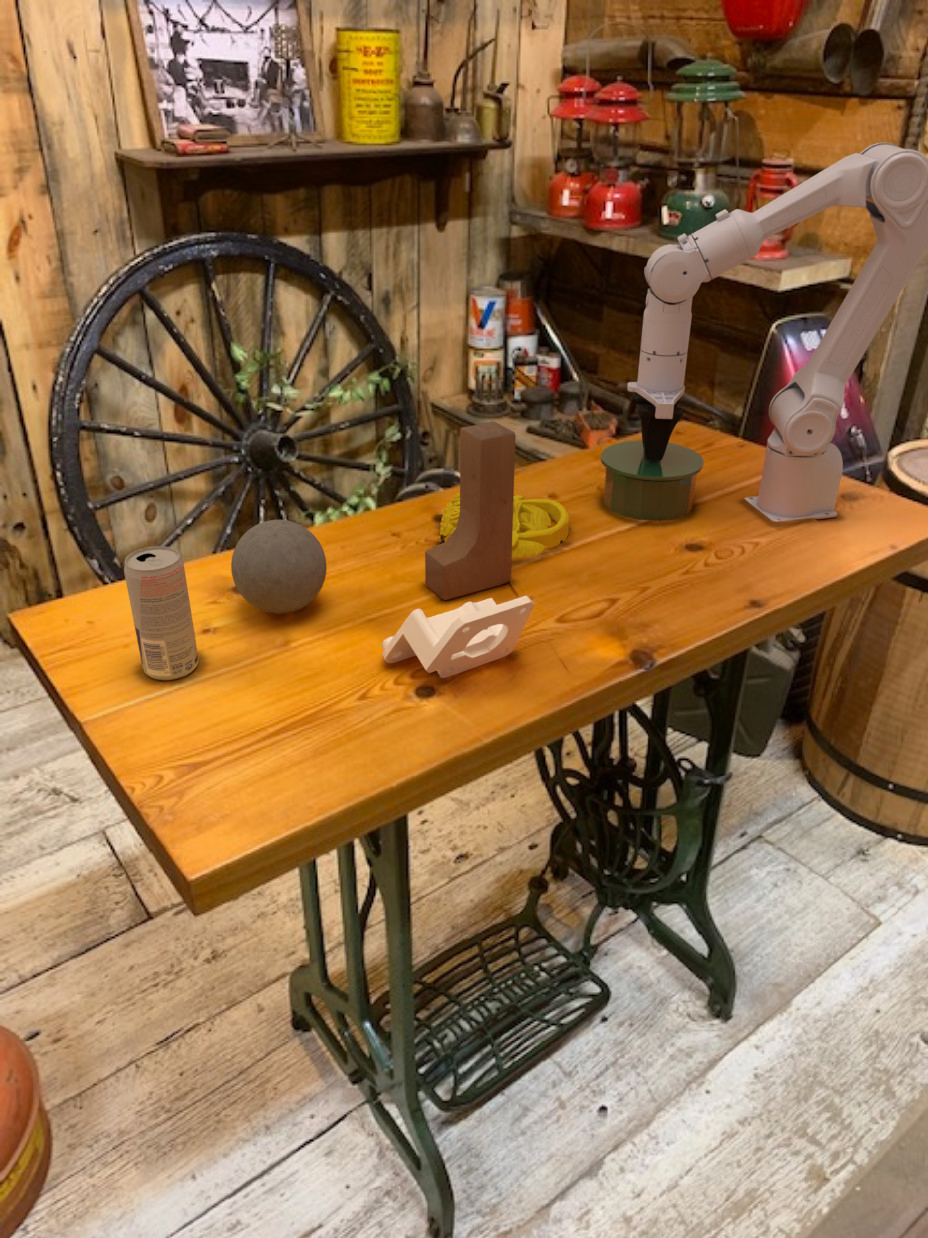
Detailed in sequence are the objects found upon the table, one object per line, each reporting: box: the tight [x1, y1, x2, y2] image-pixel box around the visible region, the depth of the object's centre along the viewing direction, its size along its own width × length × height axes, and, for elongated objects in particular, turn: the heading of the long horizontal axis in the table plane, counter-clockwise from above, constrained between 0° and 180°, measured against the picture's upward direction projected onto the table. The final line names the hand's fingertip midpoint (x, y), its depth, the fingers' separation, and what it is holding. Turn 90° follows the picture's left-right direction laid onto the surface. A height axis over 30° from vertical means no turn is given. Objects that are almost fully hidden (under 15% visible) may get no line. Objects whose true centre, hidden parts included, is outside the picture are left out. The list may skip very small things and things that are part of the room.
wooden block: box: [424, 421, 517, 601], centre depth 108 cm, size 9×4×18 cm, turn 120°
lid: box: [600, 439, 705, 481], centre depth 127 cm, size 13×13×4 cm
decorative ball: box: [230, 519, 327, 615], centre depth 105 cm, size 10×10×10 cm
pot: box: [603, 467, 698, 522], centre depth 130 cm, size 12×12×6 cm
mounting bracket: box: [381, 595, 535, 679], centre depth 95 cm, size 12×6×11 cm, turn 123°
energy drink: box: [123, 545, 200, 681], centre depth 94 cm, size 5×5×12 cm
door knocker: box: [439, 492, 570, 559], centre depth 123 cm, size 17×16×4 cm
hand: (652, 454), depth 128 cm, fingers closed on lid, 2 cm apart
